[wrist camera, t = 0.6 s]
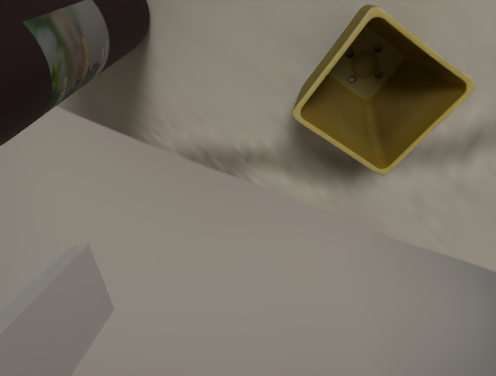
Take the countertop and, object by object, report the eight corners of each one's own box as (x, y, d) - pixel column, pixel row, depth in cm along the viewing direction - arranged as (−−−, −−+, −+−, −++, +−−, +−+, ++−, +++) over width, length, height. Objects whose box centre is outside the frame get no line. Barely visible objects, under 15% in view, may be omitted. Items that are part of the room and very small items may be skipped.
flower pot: (291, 75, 35) (288, 116, 27) (357, -17, 30) (375, 3, 23) (367, 127, 37) (383, 178, 29) (439, 48, 32) (481, 85, 25)
